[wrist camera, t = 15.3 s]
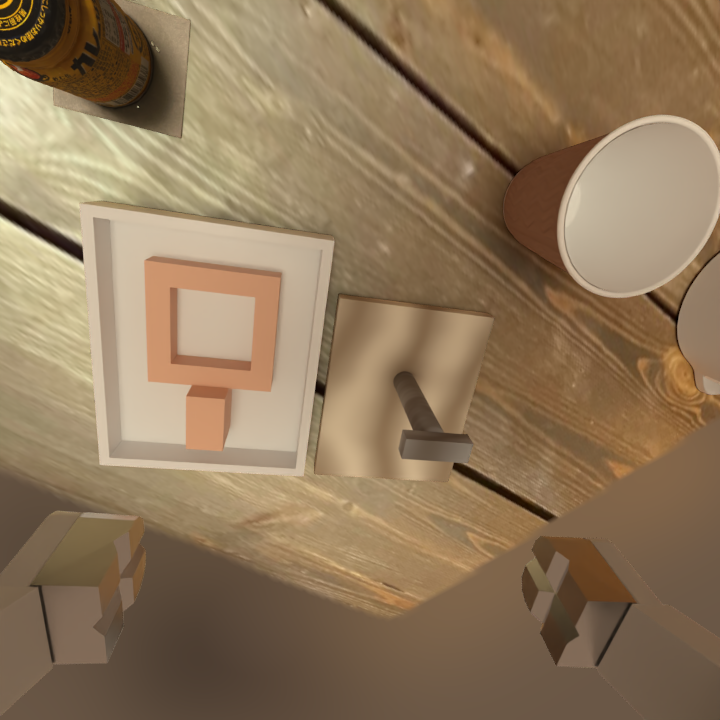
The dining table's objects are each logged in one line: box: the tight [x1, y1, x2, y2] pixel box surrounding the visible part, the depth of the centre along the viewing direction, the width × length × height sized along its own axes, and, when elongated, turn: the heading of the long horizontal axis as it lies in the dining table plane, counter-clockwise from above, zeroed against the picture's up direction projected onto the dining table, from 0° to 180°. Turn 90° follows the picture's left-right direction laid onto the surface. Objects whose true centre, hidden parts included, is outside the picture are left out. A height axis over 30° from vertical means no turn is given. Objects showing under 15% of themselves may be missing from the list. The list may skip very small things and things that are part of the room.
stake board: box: [314, 294, 495, 482], centre depth 36 cm, size 14×18×13 cm
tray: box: [79, 201, 335, 476], centre depth 36 cm, size 18×22×4 cm
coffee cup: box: [503, 115, 720, 298], centre depth 31 cm, size 10×10×12 cm
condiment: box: [0, 0, 190, 138], centre depth 24 cm, size 7×8×12 cm
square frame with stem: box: [144, 256, 282, 451], centre depth 36 cm, size 10×15×4 cm, turn 171°
